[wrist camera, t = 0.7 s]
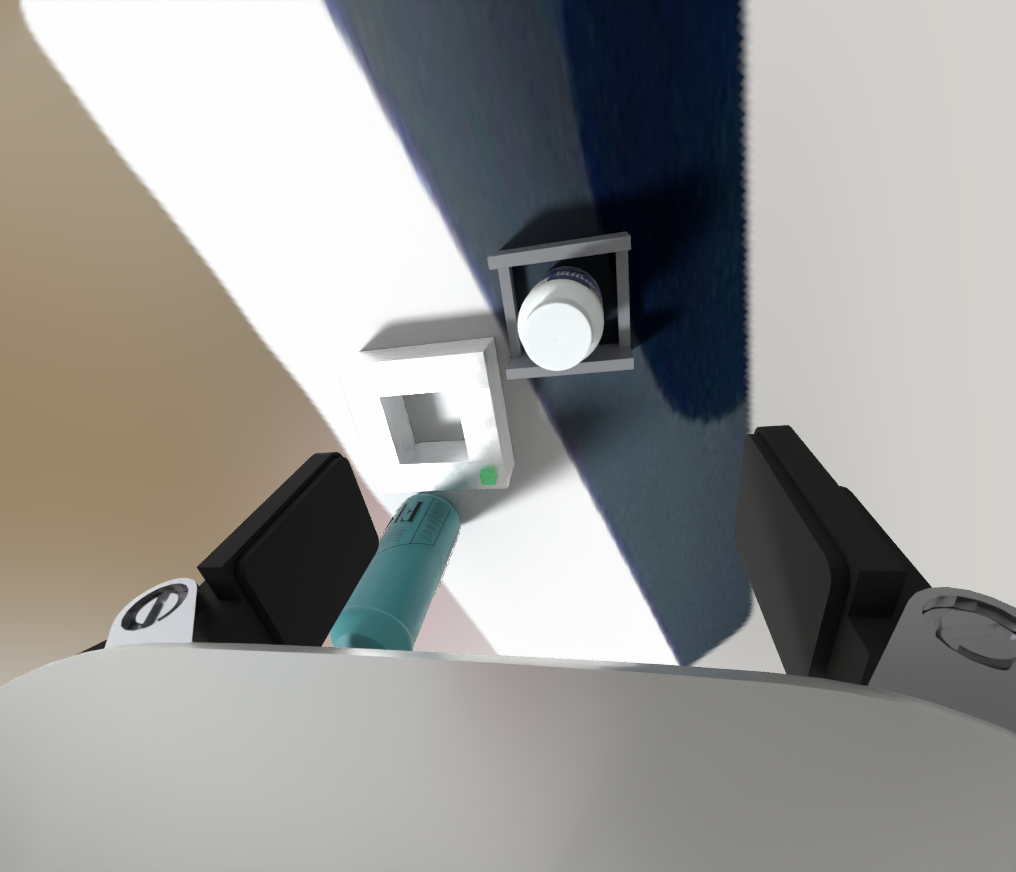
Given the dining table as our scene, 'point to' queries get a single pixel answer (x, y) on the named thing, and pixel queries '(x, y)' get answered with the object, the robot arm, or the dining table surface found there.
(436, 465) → the port
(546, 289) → the pill bottle
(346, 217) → the dining table surface
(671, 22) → the dining table surface
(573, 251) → the grey open frame
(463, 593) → the dining table surface
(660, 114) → the dining table surface
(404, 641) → the beverage bottle
